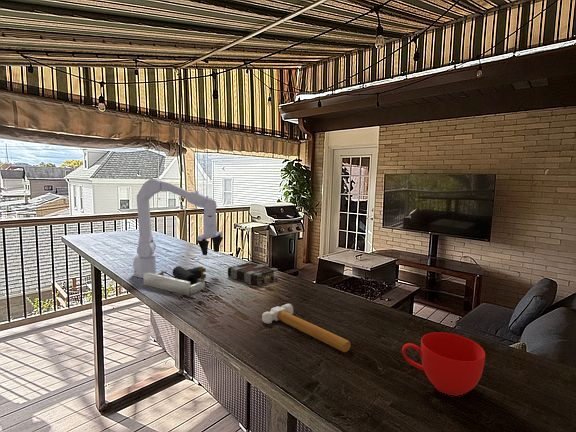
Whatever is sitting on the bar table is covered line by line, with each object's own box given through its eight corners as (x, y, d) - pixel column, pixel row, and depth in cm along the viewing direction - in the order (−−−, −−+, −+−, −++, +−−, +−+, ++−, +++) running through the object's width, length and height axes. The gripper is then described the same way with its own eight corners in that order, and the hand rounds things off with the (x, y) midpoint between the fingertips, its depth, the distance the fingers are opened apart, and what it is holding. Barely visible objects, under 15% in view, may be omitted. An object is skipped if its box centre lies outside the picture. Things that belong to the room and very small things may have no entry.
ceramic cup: (399, 363, 86) (402, 326, 84) (473, 376, 81) (477, 337, 79) (401, 395, 73) (404, 352, 72) (488, 412, 68) (493, 366, 67)
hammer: (359, 346, 95) (286, 312, 116) (359, 333, 95) (286, 301, 116) (332, 362, 87) (259, 322, 108) (333, 348, 86) (259, 311, 108)
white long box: (143, 284, 141) (143, 272, 140) (162, 278, 149) (161, 267, 149) (187, 295, 129) (187, 283, 128) (204, 288, 137) (204, 276, 137)
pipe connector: (196, 262, 157) (211, 270, 146) (197, 273, 158) (211, 282, 146) (172, 267, 150) (185, 275, 138) (172, 278, 151) (186, 287, 139)
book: (250, 270, 164) (250, 260, 164) (289, 282, 148) (289, 271, 148) (227, 277, 153) (226, 266, 152) (266, 290, 137) (266, 278, 136)
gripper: (205, 227, 147) (206, 257, 149) (227, 223, 160) (227, 251, 161) (193, 226, 150) (194, 255, 152) (215, 222, 163) (215, 249, 165)
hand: (210, 253), depth 157 cm, fingers open, 7 cm apart
